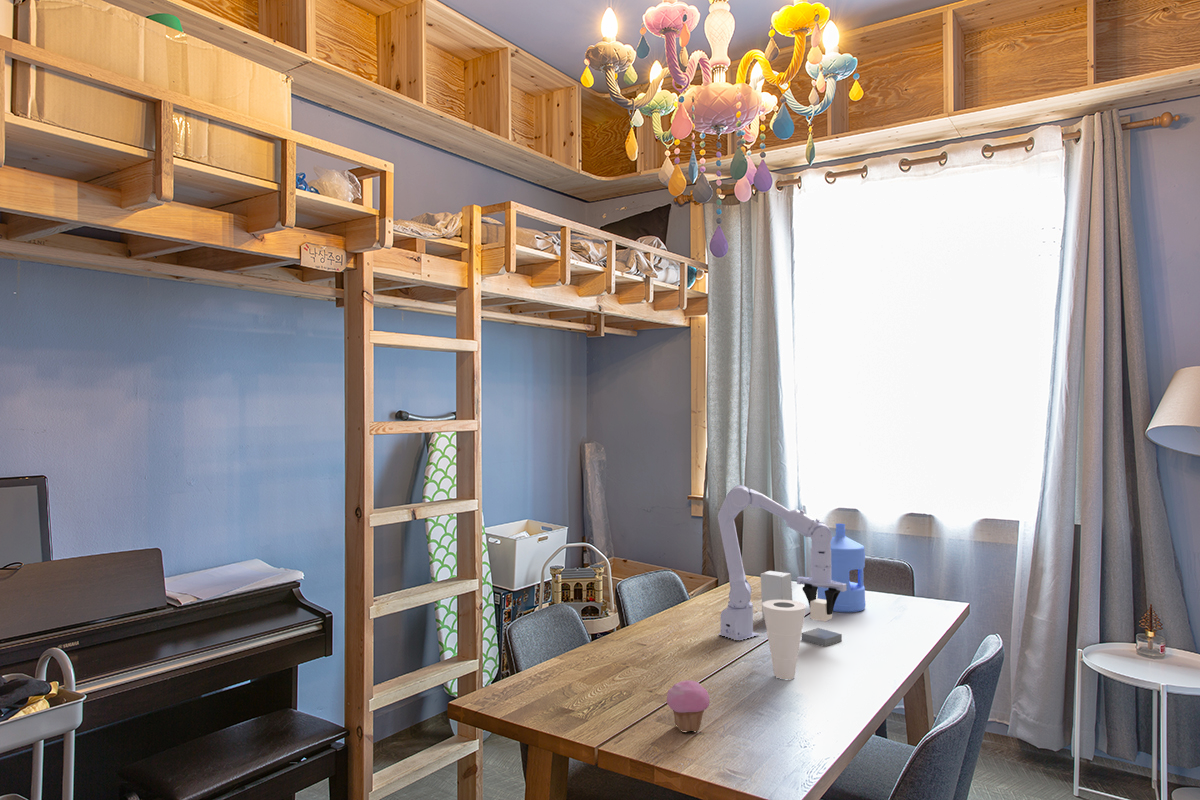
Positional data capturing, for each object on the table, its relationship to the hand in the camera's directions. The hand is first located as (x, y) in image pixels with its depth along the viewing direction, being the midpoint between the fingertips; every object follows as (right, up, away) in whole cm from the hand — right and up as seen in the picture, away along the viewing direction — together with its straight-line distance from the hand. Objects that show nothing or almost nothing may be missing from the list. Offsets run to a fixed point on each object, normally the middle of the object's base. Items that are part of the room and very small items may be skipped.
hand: (821, 612), depth 218 cm
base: (0, -8, 0) cm, 8 cm away
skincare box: (-8, -9, +22) cm, 25 cm away
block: (0, -2, 0) cm, 2 cm away
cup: (-18, -8, -30) cm, 36 cm away
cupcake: (-46, -8, -61) cm, 76 cm away
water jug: (+17, -9, +37) cm, 42 cm away
